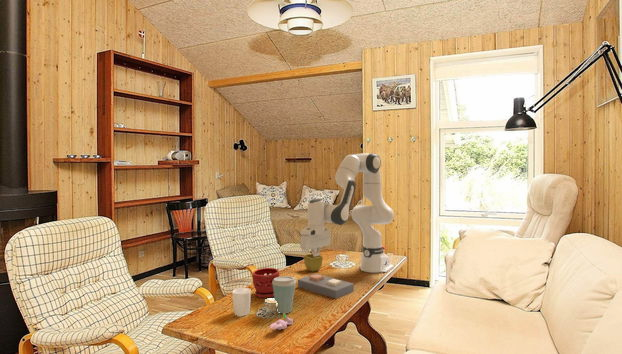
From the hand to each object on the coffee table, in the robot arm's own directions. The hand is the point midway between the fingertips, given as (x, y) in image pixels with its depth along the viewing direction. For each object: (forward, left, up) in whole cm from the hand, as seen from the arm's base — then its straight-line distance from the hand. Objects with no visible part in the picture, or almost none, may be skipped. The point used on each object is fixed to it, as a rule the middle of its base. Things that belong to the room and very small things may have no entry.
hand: (316, 256), depth 197 cm
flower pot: (-21, -22, -17) cm, 35 cm away
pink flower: (+46, +24, -17) cm, 55 cm away
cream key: (0, +12, -14) cm, 18 cm away
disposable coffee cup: (+34, +12, -17) cm, 39 cm away
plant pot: (+26, -10, -17) cm, 32 cm away
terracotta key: (0, 0, -14) cm, 14 cm away
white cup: (+48, 0, -17) cm, 50 cm away
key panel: (0, +6, -16) cm, 17 cm away
